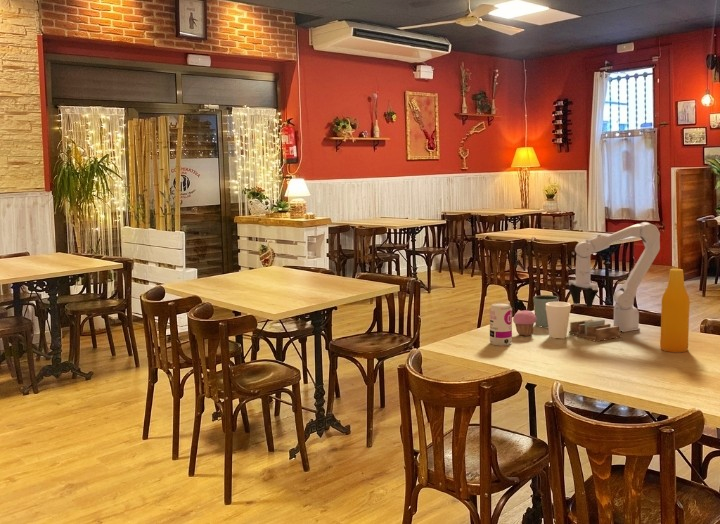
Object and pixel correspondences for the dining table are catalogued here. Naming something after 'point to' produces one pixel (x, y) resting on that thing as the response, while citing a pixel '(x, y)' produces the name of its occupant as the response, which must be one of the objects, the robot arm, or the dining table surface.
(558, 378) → the dining table surface
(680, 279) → the beer bottle
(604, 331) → the rack
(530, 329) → the cupcake
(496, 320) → the supplement can
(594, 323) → the grey-green rectangular block
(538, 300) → the grey-green pot
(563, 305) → the foam cup
